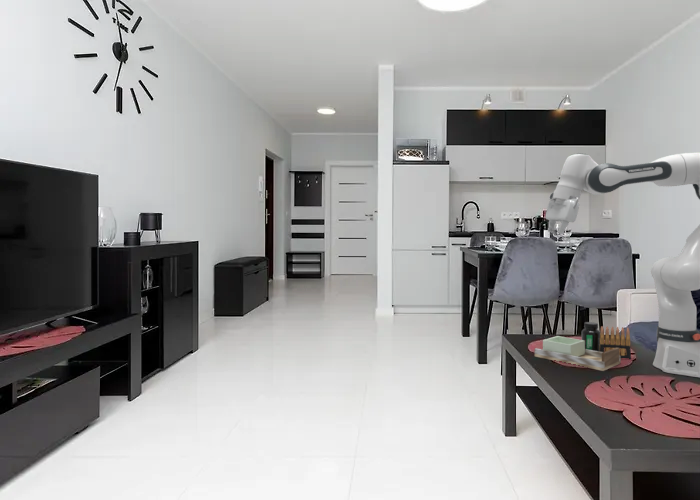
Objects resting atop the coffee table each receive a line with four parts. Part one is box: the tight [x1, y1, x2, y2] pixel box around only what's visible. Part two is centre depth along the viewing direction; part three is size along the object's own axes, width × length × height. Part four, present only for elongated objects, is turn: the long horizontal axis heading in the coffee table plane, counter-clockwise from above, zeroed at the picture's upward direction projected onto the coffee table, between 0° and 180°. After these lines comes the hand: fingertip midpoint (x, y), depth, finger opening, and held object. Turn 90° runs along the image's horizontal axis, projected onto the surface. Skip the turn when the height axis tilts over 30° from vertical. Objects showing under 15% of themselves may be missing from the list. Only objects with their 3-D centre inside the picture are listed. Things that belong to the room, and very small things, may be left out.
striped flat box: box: [534, 347, 622, 372], centre depth 182 cm, size 26×14×6 cm, turn 38°
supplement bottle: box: [581, 321, 600, 351], centre depth 192 cm, size 7×7×12 cm
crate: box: [542, 335, 585, 357], centre depth 186 cm, size 11×11×5 cm
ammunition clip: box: [599, 325, 632, 360], centre depth 185 cm, size 11×2×12 cm, turn 70°
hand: (555, 232), depth 179 cm, fingers open, 8 cm apart
